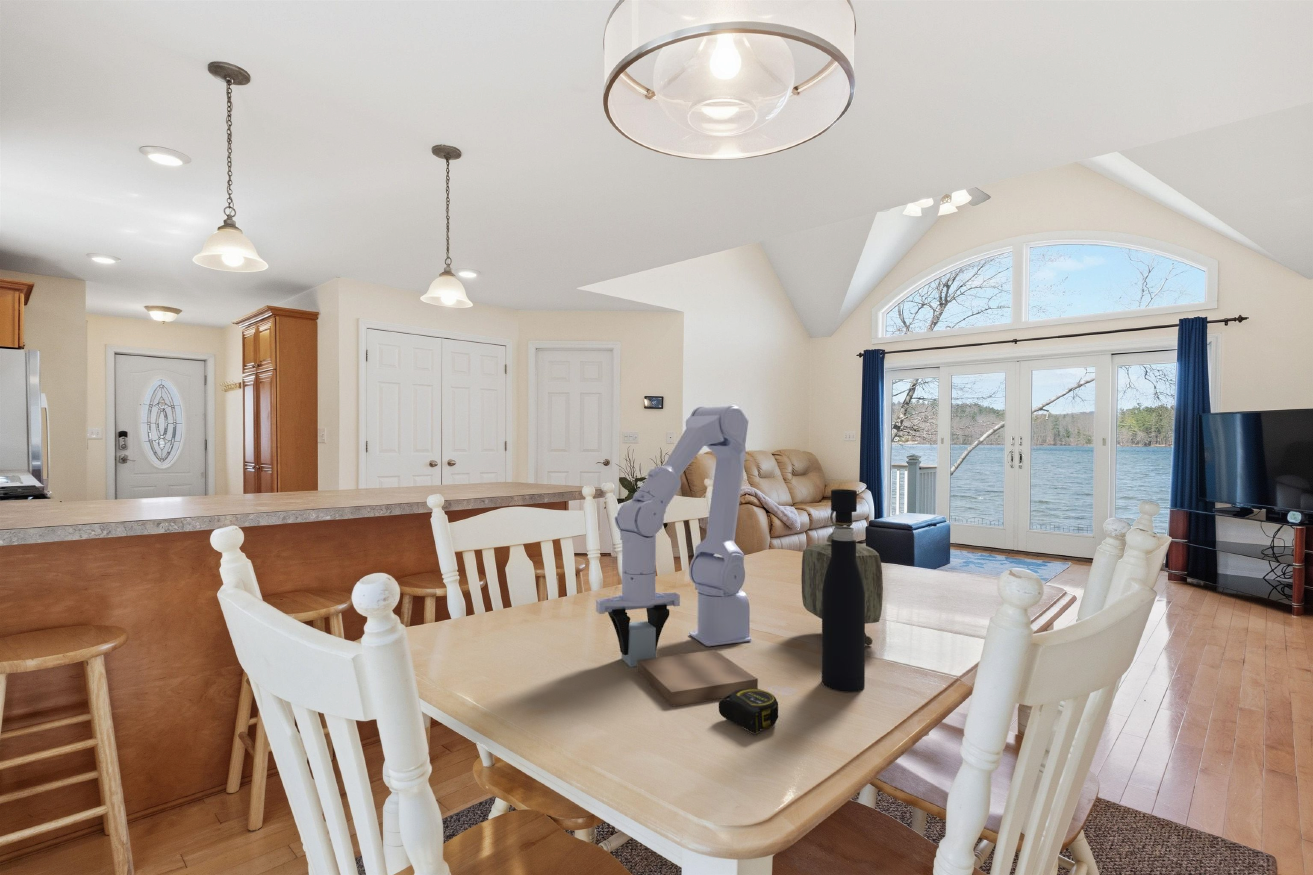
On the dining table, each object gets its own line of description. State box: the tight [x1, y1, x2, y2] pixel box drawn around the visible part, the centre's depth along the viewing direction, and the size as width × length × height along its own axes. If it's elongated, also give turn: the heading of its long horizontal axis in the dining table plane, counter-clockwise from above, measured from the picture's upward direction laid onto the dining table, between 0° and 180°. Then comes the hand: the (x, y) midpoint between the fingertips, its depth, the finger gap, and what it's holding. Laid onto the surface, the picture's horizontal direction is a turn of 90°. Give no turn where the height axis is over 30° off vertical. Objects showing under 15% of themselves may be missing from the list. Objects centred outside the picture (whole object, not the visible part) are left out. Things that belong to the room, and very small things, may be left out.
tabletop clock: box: [800, 510, 884, 646], centre depth 121 cm, size 14×9×25 cm, turn 17°
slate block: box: [621, 620, 657, 668], centre depth 108 cm, size 4×4×6 cm
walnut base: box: [636, 649, 759, 707], centre depth 98 cm, size 14×14×2 cm
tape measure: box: [718, 688, 779, 734], centre depth 84 cm, size 7×7×4 cm
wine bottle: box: [821, 488, 866, 693], centre depth 98 cm, size 6×6×30 cm
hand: (638, 651), depth 108 cm, fingers closed on slate block, 4 cm apart
